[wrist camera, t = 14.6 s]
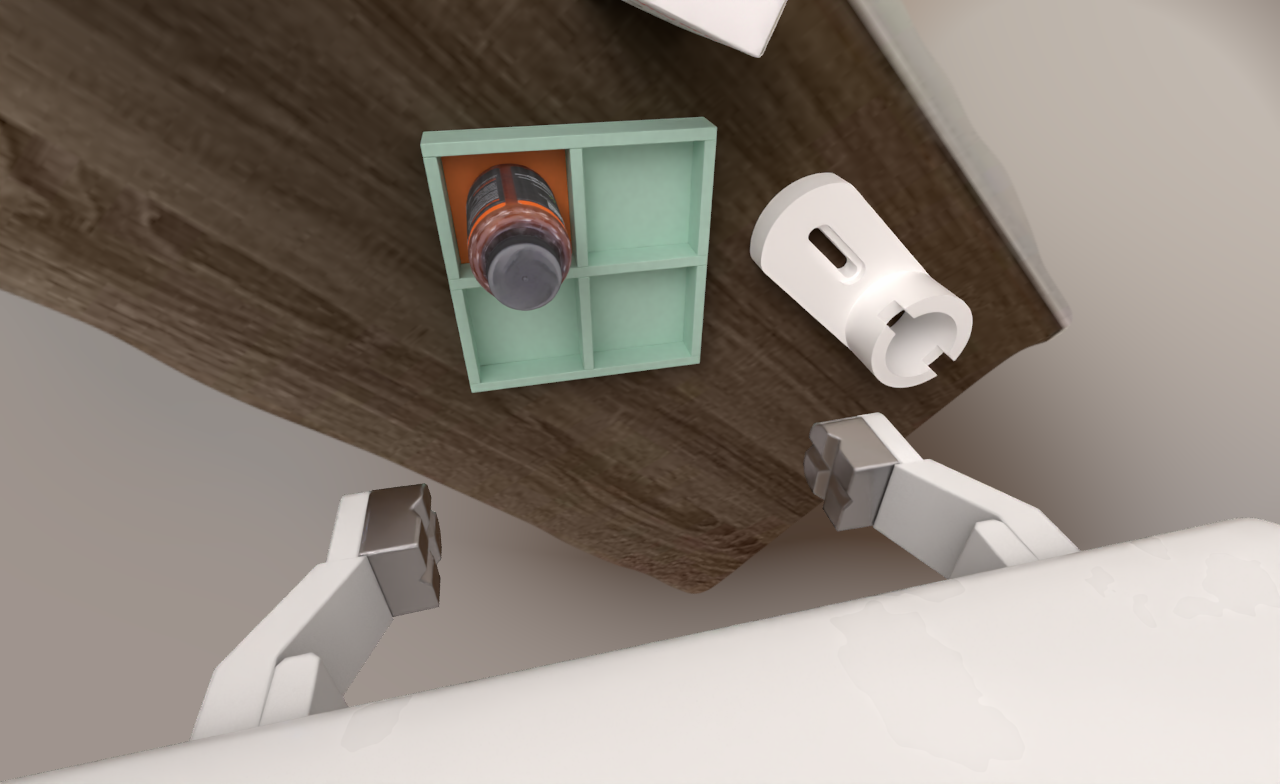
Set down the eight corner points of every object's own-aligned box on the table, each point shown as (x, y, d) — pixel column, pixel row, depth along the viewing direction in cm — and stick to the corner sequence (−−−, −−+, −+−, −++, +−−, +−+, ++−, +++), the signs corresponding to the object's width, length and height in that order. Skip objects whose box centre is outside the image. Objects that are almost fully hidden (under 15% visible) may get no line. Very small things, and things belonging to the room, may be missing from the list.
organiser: (422, 131, 38) (419, 143, 36) (703, 116, 41) (717, 127, 39) (471, 372, 49) (471, 393, 47) (689, 345, 52) (699, 363, 50)
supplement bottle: (456, 232, 41) (453, 312, 33) (478, 147, 39) (482, 209, 30) (540, 256, 44) (559, 337, 35) (567, 178, 41) (594, 244, 32)
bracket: (940, 294, 55) (989, 332, 50) (865, 361, 58) (904, 403, 53) (816, 151, 44) (863, 180, 39) (732, 241, 47) (765, 279, 42)
